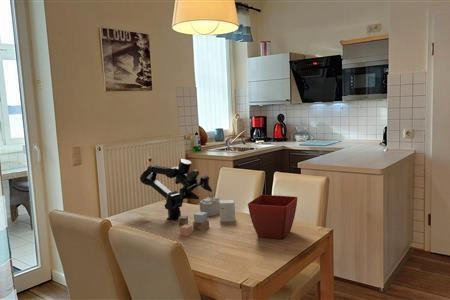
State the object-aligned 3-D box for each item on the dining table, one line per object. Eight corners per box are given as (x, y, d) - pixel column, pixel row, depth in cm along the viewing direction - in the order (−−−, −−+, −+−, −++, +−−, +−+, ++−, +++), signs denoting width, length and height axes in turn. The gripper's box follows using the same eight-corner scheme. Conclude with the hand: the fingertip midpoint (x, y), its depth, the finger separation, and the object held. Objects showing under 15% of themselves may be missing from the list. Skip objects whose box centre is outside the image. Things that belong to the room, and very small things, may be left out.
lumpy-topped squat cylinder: (198, 212, 233) (197, 198, 232) (218, 208, 239) (217, 194, 238) (206, 216, 224) (205, 202, 223) (226, 212, 230) (225, 198, 229)
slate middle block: (194, 221, 203) (193, 214, 203) (199, 219, 208) (199, 211, 207) (202, 223, 201) (201, 215, 200) (207, 220, 205) (207, 212, 205)
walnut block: (178, 225, 212) (178, 218, 211) (181, 222, 215) (180, 215, 215) (186, 225, 211) (185, 218, 210) (188, 223, 215) (187, 215, 214)
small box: (235, 218, 218) (234, 199, 217) (234, 221, 213) (234, 202, 211) (221, 218, 219) (220, 200, 218) (220, 221, 214) (219, 203, 212)
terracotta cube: (180, 234, 197) (179, 227, 196) (185, 232, 200) (185, 224, 200) (187, 236, 194) (187, 228, 194) (192, 233, 198) (192, 225, 197)
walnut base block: (193, 229, 204) (192, 222, 203) (199, 226, 209) (199, 218, 208) (202, 231, 201) (202, 223, 200) (209, 227, 206) (208, 220, 205)
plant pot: (262, 225, 203) (261, 194, 201) (298, 229, 195) (298, 196, 193) (248, 238, 186) (246, 203, 184) (287, 243, 178) (286, 206, 176)
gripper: (172, 175, 203) (192, 190, 194) (199, 161, 215) (219, 175, 206) (172, 192, 209) (191, 207, 200) (198, 178, 221) (217, 191, 212)
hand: (205, 194), depth 205 cm, fingers open, 9 cm apart
